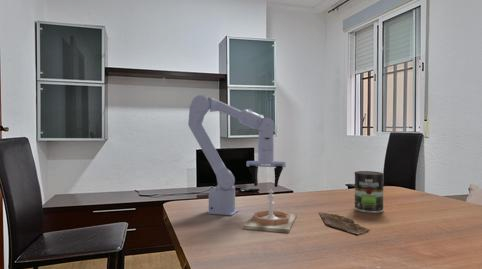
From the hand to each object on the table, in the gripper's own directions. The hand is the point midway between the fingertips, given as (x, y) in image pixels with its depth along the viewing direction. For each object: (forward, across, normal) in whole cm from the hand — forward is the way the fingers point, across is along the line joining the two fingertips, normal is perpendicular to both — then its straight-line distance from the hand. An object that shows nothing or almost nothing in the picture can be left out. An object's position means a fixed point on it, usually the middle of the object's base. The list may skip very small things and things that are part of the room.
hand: (266, 186), depth 119 cm
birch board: (+9, +5, -14) cm, 18 cm away
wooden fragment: (+10, +26, -8) cm, 29 cm away
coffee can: (+10, +37, +13) cm, 40 cm away
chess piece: (+9, +5, -15) cm, 18 cm away
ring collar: (+9, +5, -14) cm, 18 cm away
